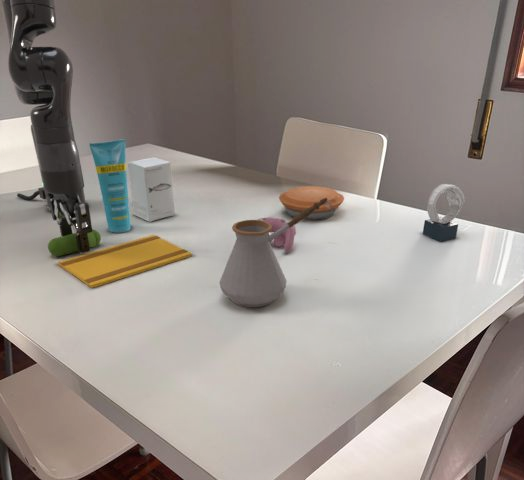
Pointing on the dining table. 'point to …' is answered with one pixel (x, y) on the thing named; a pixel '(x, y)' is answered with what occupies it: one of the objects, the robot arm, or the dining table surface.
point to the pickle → (71, 243)
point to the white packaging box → (151, 188)
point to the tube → (113, 182)
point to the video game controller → (284, 237)
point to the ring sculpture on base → (443, 226)
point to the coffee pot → (256, 262)
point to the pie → (311, 201)
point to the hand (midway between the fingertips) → (76, 246)
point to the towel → (123, 260)
